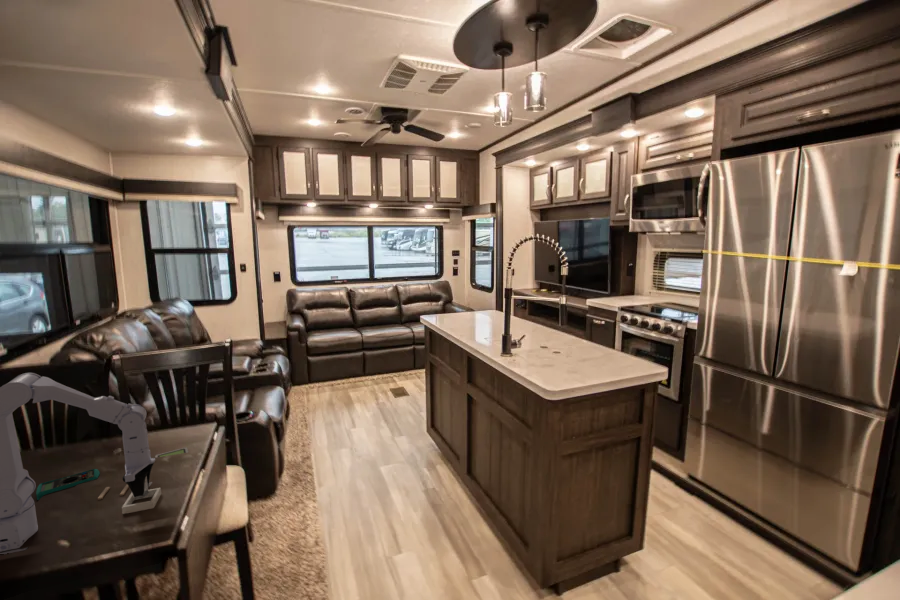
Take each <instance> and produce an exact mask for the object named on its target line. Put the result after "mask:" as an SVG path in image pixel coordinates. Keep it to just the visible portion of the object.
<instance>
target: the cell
mask: <svg viewBox="0 0 900 600" xmlns="http://www.w3.org/2000/svg"><path fill="white" fill-rule="evenodd" d="M148 490H149V489H148V483H147V475H146V479H145V486H144V494H143V495H142V496H136V497H134V495H133V498H134V499H137V500H141V499H140V498H142V499H144V498H143V497H145V496H147V495H148V494H149V492H148Z"/></svg>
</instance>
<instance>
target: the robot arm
mask: <svg viewBox="0 0 900 600" xmlns="http://www.w3.org/2000/svg"><path fill="white" fill-rule="evenodd" d="M32 399H33V400H32ZM30 400H32V404H36V403H37V404H38V403H41V402H45V401H50V400H51V401H56V402H59V403H63V404H66V405H70V406H73V407H77V408H80V409H84V410H86V411H87V414H88V415H89V416H90V417H93V418H96V419H98V420H102V421H105V422H107V423H108V422H109V423H111V424H114V425H117V427H118V428H119V430H121V431H122V432H121V433H122V445H123V453H124V471H125V474H124V475H123V476H122V481H123V483H125V485H126V484H127V485H128V486H129V489H130V492H132V493H133V495H134V497H136V496H142V495H143V494H144V486H145V479H146V475H147V483H148V485H149V482H150V479H151V473H152V472H151V471H152V468H153V466H154V464H155V463H156V462H155V461H156V458H155V457H151V456H152V454H151V453H152V452H151V449H150V445H149V435H148V429H147V423H146V418H147V416H148V415H147V410H146V408H145V407H143V406H142V405H141V404H136V403H135V404H132V403H128V404H127V403H125V402H122V401H119V400H117V399H115V397H114V396H112V395H108V396H105V395H101V396H97V397H94V396H91V395H89V394H87V393H84V392H81V391H79V390H77V389H74V388H72V387H69V386H66V385H64V384H62V383H60V382H58V381H55V380H53V379H52V378H50V377H48V376H41V375H39V374H37V373H35V372H25V373H22V374H18V375H17V376H15V377H14V378H12V379H11V380H10V381H9V382H6V383H5V384H3V385H2V386H0V554H4V555H7V553H9V554H12V553H17V552H21V551H26V550H28V548H29V546H28V547H23V548H21V547H22V546H23V545H24V543H25V542H26V541H27V540H28V539H29V538H31V537H32V536H33V535H35V534H36V533H37V532H38V530H39V525H38V519H37V512H36V511H37V509H36V506H35V500H34V498H33V497H32V494H33V493H34V491H35V490H36V489H37V487H36V486H37V485H36V481H35V480H34V479H33V478H32V477H31V476H30V475H29V471H28V470H27V469H25V468H24V466H23V461H22V456H21V451H20V446H19V441H18V436H17V431H16V430H17V429H16V425H15V421H14V415H13V412H15V411H16V410H17V409H18V408H20V407H21V406H24V405H25V404H27V403H28V402H29V401H30Z"/></svg>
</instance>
